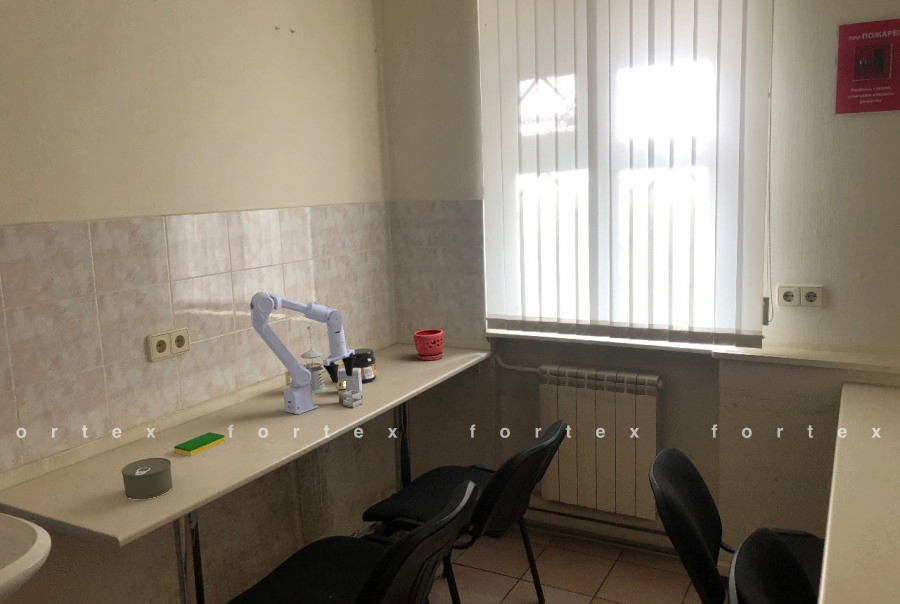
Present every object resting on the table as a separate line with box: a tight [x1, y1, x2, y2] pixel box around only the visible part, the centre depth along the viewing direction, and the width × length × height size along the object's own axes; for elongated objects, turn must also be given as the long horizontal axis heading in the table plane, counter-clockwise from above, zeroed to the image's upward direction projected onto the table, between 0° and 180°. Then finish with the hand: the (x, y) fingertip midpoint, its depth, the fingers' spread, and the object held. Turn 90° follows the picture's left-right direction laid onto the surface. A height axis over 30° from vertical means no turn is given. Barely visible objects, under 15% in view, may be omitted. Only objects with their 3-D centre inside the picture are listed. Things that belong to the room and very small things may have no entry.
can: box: [121, 457, 174, 500], centre depth 193 cm, size 12×12×7 cm
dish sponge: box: [173, 431, 226, 457], centre depth 225 cm, size 7×14×2 cm, turn 150°
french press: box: [300, 325, 328, 394], centre depth 278 cm, size 10×12×25 cm
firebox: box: [342, 390, 364, 408], centre depth 260 cm, size 5×5×4 cm
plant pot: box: [413, 328, 445, 361], centre depth 322 cm, size 13×13×12 cm
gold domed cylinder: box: [337, 379, 348, 405], centre depth 263 cm, size 3×3×8 cm
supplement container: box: [353, 347, 377, 384], centre depth 291 cm, size 10×10×12 cm
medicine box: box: [338, 367, 363, 392], centre depth 276 cm, size 8×4×9 cm, turn 84°
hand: (342, 379), depth 262 cm, fingers open, 7 cm apart
